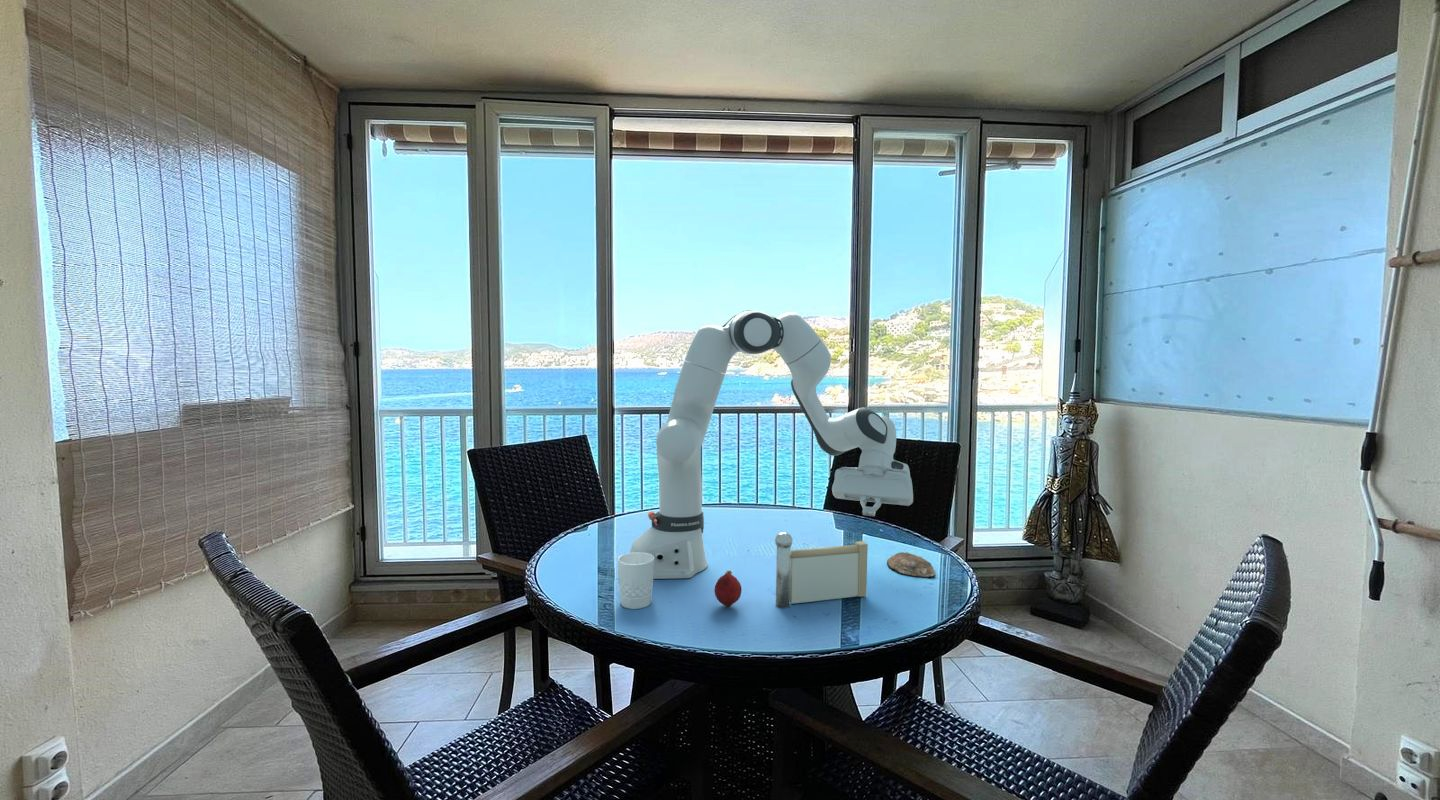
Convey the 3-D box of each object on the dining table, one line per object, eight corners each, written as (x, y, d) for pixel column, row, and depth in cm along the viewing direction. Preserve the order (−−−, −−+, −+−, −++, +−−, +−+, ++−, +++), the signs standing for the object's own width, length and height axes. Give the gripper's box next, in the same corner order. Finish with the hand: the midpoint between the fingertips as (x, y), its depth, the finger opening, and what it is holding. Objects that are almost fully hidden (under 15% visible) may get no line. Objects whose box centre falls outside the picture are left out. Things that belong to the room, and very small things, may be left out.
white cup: (647, 612, 116) (647, 566, 115) (612, 608, 117) (612, 563, 116) (658, 597, 123) (658, 553, 123) (625, 593, 125) (625, 551, 124)
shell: (887, 575, 139) (887, 561, 138) (886, 559, 151) (886, 546, 151) (936, 580, 136) (936, 566, 135) (931, 563, 148) (931, 550, 148)
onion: (732, 615, 115) (732, 577, 114) (709, 608, 118) (709, 572, 117) (745, 605, 119) (746, 569, 119) (723, 599, 123) (723, 564, 122)
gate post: (777, 609, 118) (779, 535, 117) (771, 602, 121) (772, 530, 120) (794, 607, 119) (795, 534, 118) (787, 600, 122) (788, 529, 121)
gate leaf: (792, 604, 119) (793, 550, 119) (788, 600, 121) (789, 547, 121) (866, 595, 124) (867, 544, 123) (861, 591, 126) (862, 541, 126)
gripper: (834, 459, 148) (825, 503, 139) (914, 465, 139) (910, 512, 131) (838, 473, 152) (829, 516, 144) (915, 479, 143) (911, 525, 135)
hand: (868, 514), depth 137 cm, fingers closed
